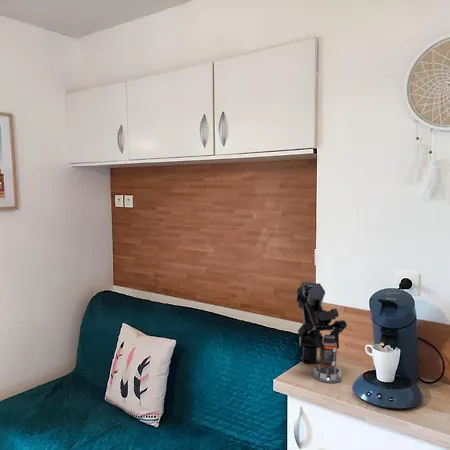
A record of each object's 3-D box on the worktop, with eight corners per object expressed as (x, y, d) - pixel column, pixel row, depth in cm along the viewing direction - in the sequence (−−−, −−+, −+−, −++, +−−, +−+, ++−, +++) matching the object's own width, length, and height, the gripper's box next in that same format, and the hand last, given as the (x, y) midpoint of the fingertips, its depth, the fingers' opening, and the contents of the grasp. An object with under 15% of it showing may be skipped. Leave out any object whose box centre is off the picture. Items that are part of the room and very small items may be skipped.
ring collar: (309, 372, 173) (309, 365, 173) (334, 371, 175) (334, 363, 175) (320, 384, 163) (320, 376, 162) (347, 382, 165) (347, 374, 165)
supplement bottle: (338, 368, 166) (340, 338, 165) (322, 369, 165) (324, 339, 164) (331, 362, 172) (333, 333, 171) (317, 362, 171) (318, 333, 170)
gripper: (303, 302, 167) (317, 341, 158) (345, 299, 174) (362, 336, 164) (291, 317, 175) (305, 355, 166) (333, 314, 182) (348, 350, 172)
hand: (330, 349), depth 167 cm, fingers closed on supplement bottle, 6 cm apart
